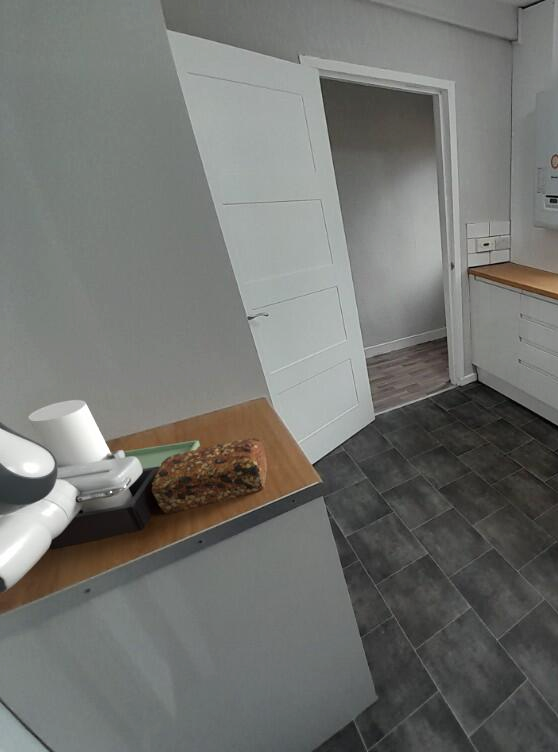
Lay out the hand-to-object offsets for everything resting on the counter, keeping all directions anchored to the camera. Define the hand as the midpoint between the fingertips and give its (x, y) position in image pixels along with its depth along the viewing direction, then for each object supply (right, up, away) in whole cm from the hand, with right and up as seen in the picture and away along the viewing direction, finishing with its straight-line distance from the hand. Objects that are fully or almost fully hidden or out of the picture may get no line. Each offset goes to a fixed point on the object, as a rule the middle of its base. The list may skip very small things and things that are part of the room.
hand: (88, 457), depth 78 cm
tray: (-5, -7, +18) cm, 20 cm away
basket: (0, -13, +5) cm, 14 cm away
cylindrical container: (0, -13, +5) cm, 14 cm away
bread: (+16, -10, +13) cm, 23 cm away
